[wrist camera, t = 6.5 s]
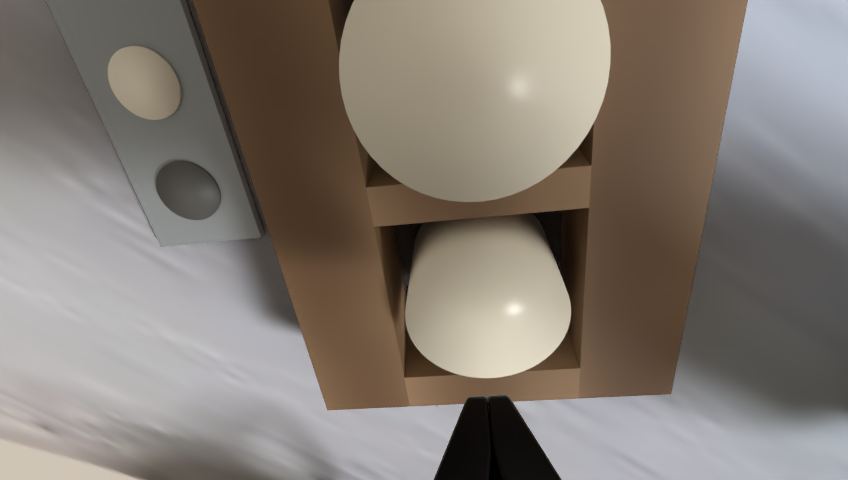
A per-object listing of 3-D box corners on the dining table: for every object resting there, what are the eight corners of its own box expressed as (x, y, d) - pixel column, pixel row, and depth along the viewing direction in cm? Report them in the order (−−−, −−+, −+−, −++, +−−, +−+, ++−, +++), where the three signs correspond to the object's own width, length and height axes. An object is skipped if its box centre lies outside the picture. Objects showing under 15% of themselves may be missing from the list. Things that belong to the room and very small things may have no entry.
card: (131, -162, 11) (120, -167, 10) (264, 233, 16) (259, 239, 15) (-9, -135, 11) (-23, -139, 11) (165, 242, 16) (159, 248, 16)
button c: (548, 187, 14) (573, 240, 11) (547, 303, 16) (568, 373, 13) (404, 200, 14) (393, 255, 11) (422, 311, 16) (416, 382, 14)
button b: (567, -79, 9) (622, -108, 6) (562, 136, 11) (601, 190, 8) (352, -46, 10) (310, -58, 7) (386, 155, 12) (365, 212, 9)
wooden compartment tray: (781, -785, 7) (996, -1280, 4) (636, 330, 17) (671, 394, 14) (88, -581, 8) (-92, -863, 5) (345, 348, 18) (327, 409, 15)
